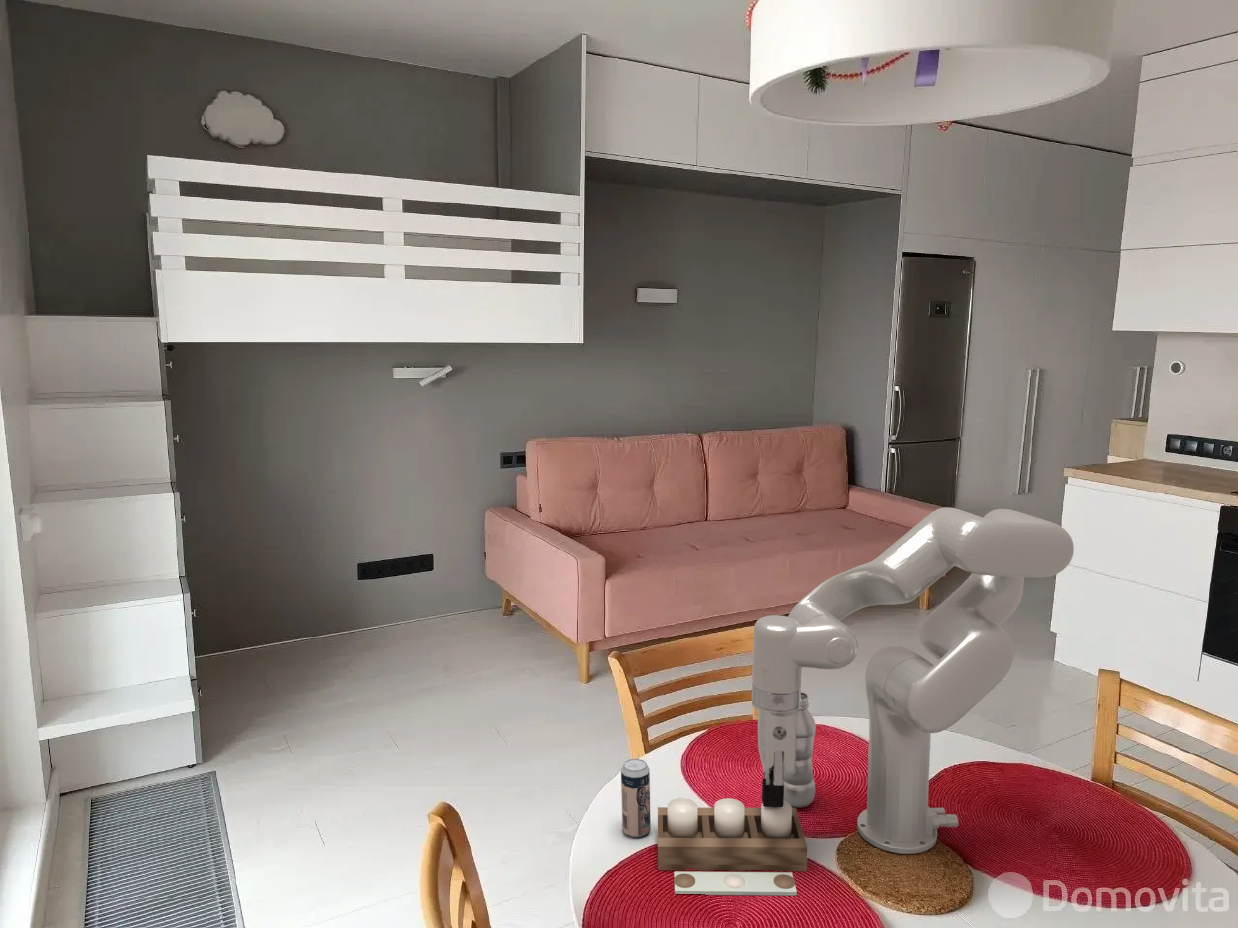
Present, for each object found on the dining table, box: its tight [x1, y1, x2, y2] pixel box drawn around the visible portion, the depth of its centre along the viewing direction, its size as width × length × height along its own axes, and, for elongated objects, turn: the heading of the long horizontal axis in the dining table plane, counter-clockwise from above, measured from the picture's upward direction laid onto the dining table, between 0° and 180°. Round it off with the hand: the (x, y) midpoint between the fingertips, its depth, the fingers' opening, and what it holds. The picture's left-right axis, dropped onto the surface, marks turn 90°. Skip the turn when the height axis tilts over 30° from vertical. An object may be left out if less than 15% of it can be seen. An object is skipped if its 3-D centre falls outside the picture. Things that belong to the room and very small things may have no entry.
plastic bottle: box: [784, 691, 817, 809], centre depth 150 cm, size 6×7×20 cm
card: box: [673, 870, 798, 897], centre depth 129 cm, size 18×5×1 cm, turn 87°
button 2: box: [760, 800, 793, 839], centre depth 137 cm, size 5×5×4 cm
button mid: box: [713, 797, 745, 838], centre depth 137 cm, size 5×5×4 cm
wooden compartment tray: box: [657, 806, 808, 872], centre depth 138 cm, size 23×11×4 cm, turn 87°
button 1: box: [667, 797, 698, 838], centre depth 138 cm, size 5×5×4 cm
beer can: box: [620, 758, 652, 838], centre depth 143 cm, size 5×5×12 cm
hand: (772, 804), depth 136 cm, fingers closed
